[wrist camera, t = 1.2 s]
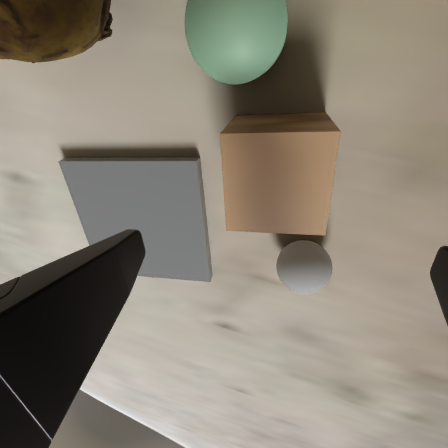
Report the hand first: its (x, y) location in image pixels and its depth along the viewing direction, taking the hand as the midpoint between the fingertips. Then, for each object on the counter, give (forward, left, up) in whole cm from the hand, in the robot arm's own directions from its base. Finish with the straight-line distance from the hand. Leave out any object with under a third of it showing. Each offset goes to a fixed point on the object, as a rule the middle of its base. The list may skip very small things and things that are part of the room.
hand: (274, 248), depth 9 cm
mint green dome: (+2, -6, -10) cm, 12 cm away
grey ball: (-2, +7, -8) cm, 11 cm away
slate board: (+10, +5, -10) cm, 15 cm away
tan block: (0, 0, -10) cm, 10 cm away
